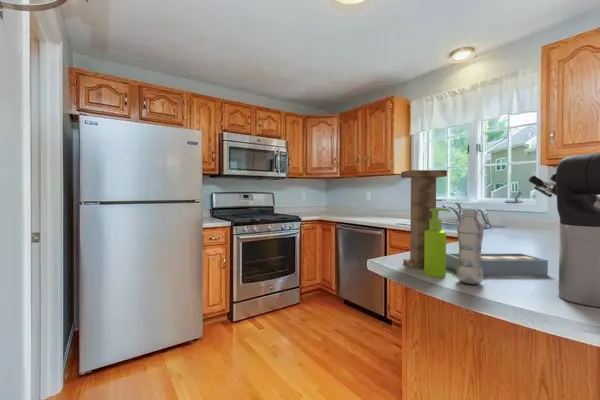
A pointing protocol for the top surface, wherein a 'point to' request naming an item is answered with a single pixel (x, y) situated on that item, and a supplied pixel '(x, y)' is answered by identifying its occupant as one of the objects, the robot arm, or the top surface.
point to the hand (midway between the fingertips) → (541, 177)
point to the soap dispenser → (435, 247)
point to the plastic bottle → (470, 248)
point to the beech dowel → (506, 258)
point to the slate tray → (505, 265)
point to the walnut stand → (421, 211)
